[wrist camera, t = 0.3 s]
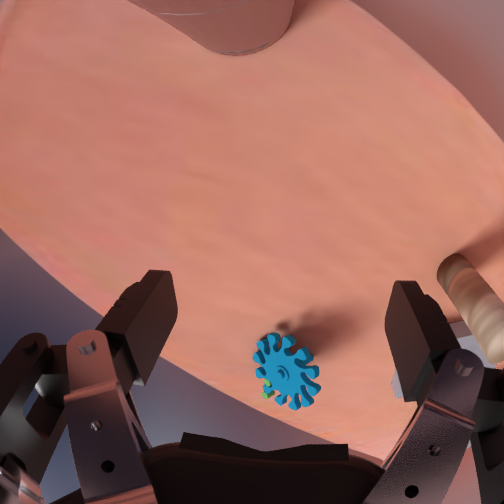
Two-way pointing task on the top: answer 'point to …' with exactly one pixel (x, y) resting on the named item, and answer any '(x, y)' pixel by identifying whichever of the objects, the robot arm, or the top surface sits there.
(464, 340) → the seat board
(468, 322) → the ash leg
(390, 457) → the robot arm
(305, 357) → the gear
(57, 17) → the top surface
